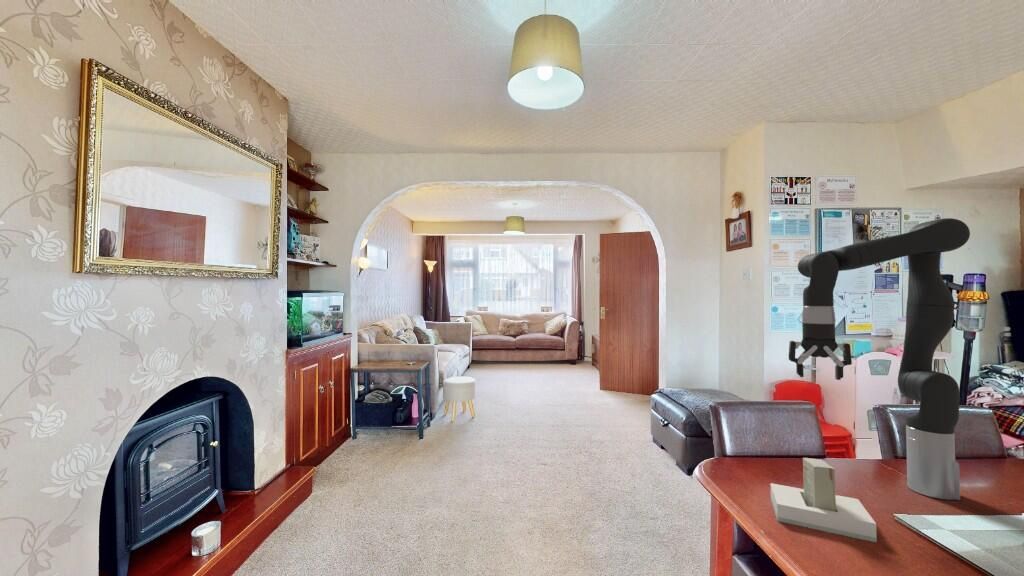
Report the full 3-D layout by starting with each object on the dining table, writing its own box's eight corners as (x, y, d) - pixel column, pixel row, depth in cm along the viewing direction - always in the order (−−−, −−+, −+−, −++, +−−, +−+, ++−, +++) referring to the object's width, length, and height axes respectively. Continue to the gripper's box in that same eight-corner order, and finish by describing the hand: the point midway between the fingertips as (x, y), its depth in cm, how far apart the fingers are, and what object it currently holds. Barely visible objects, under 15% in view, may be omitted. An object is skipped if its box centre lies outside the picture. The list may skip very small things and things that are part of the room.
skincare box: (837, 522, 91) (836, 469, 92) (815, 519, 93) (814, 467, 93) (823, 508, 98) (822, 458, 98) (802, 506, 99) (802, 456, 99)
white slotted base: (858, 515, 96) (857, 499, 97) (876, 542, 86) (876, 523, 86) (770, 498, 105) (770, 483, 105) (777, 521, 94) (777, 503, 94)
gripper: (845, 322, 115) (846, 378, 114) (786, 320, 121) (787, 373, 121) (854, 323, 108) (855, 383, 108) (791, 321, 115) (791, 378, 114)
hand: (819, 378), depth 114 cm, fingers open, 8 cm apart
